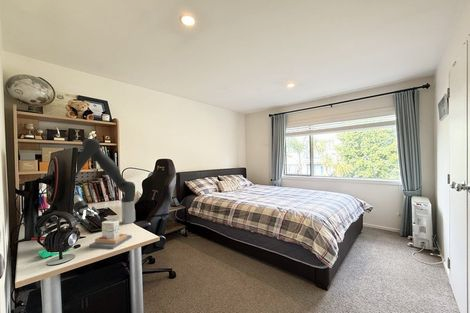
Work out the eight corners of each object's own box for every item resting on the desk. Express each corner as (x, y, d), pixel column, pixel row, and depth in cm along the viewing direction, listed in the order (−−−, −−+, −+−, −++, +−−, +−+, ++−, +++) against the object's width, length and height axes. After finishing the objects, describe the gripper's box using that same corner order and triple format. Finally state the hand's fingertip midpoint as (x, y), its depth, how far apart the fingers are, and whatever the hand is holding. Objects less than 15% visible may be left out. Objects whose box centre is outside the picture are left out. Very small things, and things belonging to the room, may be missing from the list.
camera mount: (64, 247, 122) (64, 230, 122) (70, 250, 118) (70, 232, 118) (38, 256, 111) (37, 238, 111) (43, 259, 107) (43, 240, 107)
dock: (110, 236, 137) (110, 231, 137) (131, 237, 134) (131, 232, 134) (89, 247, 121) (89, 241, 121) (113, 248, 118) (113, 242, 118)
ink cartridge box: (101, 241, 125) (100, 217, 125) (107, 238, 130) (107, 215, 130) (114, 241, 124) (113, 217, 124) (119, 238, 129) (119, 215, 129)
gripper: (70, 202, 124) (87, 221, 122) (90, 197, 138) (106, 214, 136) (63, 210, 125) (80, 230, 123) (84, 205, 139) (99, 222, 137)
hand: (93, 222), depth 130 cm, fingers open, 8 cm apart
